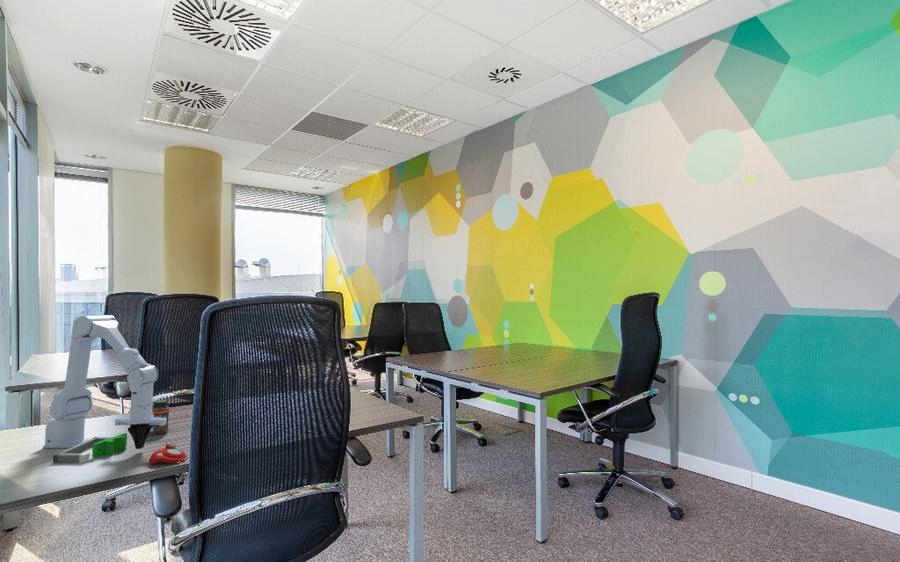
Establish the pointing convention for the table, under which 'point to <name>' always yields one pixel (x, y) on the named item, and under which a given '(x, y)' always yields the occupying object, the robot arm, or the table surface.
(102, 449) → the green block
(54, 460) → the keeper bracket
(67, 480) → the table surface
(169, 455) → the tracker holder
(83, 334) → the robot arm
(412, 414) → the table surface
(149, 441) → the table surface
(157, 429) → the supplement bottle
